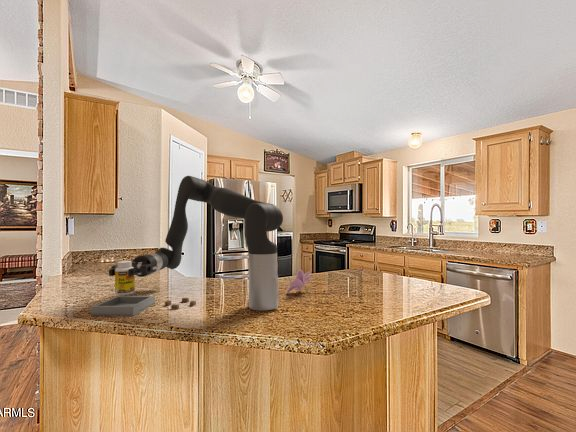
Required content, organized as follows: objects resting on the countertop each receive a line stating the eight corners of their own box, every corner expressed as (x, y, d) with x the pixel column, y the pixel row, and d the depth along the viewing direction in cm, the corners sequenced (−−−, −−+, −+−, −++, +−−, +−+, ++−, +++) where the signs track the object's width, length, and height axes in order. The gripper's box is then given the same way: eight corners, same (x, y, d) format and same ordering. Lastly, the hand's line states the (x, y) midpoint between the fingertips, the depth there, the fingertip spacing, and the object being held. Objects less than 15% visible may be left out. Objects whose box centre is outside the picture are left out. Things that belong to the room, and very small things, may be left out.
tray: (154, 303, 104) (154, 296, 104) (133, 315, 91) (133, 306, 91) (117, 303, 104) (117, 296, 104) (91, 315, 91) (91, 306, 91)
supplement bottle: (115, 296, 94) (115, 263, 94) (114, 292, 99) (113, 261, 99) (136, 293, 97) (135, 261, 97) (133, 290, 102) (133, 259, 102)
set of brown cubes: (199, 301, 106) (199, 297, 106) (189, 309, 97) (189, 305, 97) (172, 301, 107) (172, 297, 107) (159, 309, 97) (159, 305, 97)
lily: (316, 293, 121) (306, 270, 124) (325, 287, 110) (314, 262, 113) (289, 305, 117) (279, 282, 120) (296, 300, 106) (285, 275, 109)
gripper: (128, 254, 113) (97, 260, 96) (166, 254, 112) (142, 260, 95) (128, 274, 113) (97, 284, 96) (166, 274, 112) (142, 285, 95)
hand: (120, 272), depth 95 cm, fingers closed on supplement bottle, 5 cm apart
